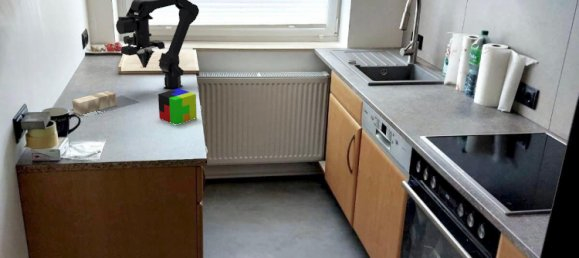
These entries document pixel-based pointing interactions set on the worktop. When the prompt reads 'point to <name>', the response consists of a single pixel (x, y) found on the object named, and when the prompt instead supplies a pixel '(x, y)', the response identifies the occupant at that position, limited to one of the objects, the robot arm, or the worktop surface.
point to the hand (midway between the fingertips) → (144, 67)
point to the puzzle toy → (177, 106)
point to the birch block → (94, 102)
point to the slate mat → (119, 103)
